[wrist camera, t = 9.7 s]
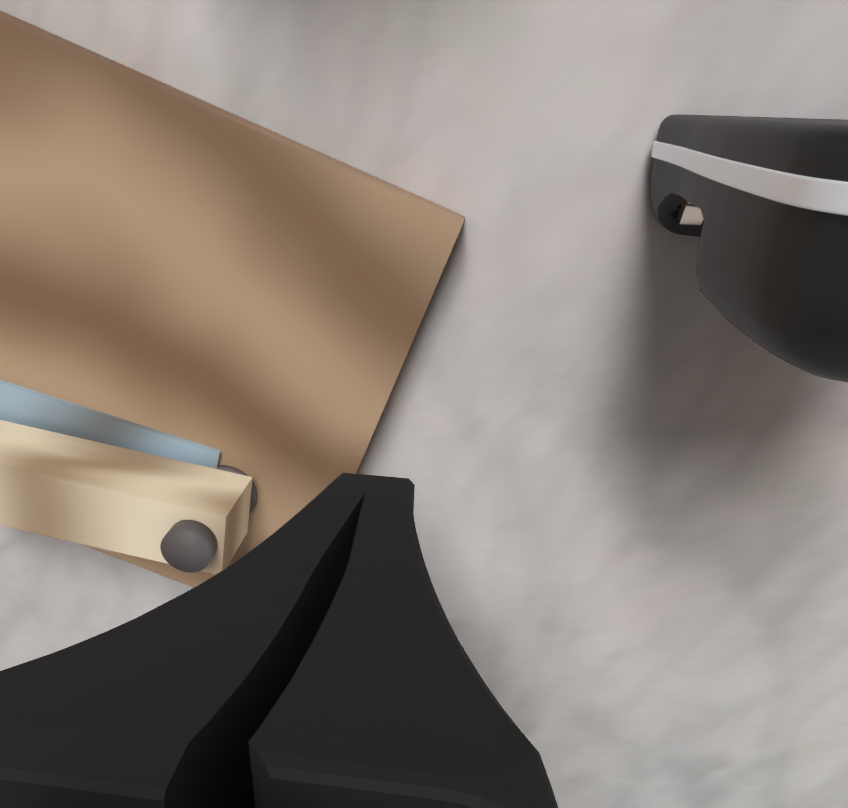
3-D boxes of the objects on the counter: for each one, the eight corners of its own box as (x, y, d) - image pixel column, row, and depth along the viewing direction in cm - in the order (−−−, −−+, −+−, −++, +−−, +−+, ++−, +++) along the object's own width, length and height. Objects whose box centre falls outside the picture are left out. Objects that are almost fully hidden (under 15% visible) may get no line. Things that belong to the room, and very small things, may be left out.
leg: (252, 477, 22) (218, 528, 20) (247, 532, 23) (214, 588, 21) (-56, 407, 22) (-132, 448, 20) (-47, 465, 23) (-118, 512, 21)
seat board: (299, 603, 27) (289, 630, 25) (-52, 467, 26) (-82, 487, 24) (465, 217, 20) (462, 224, 18) (-15, 4, 18) (-56, -4, 17)
